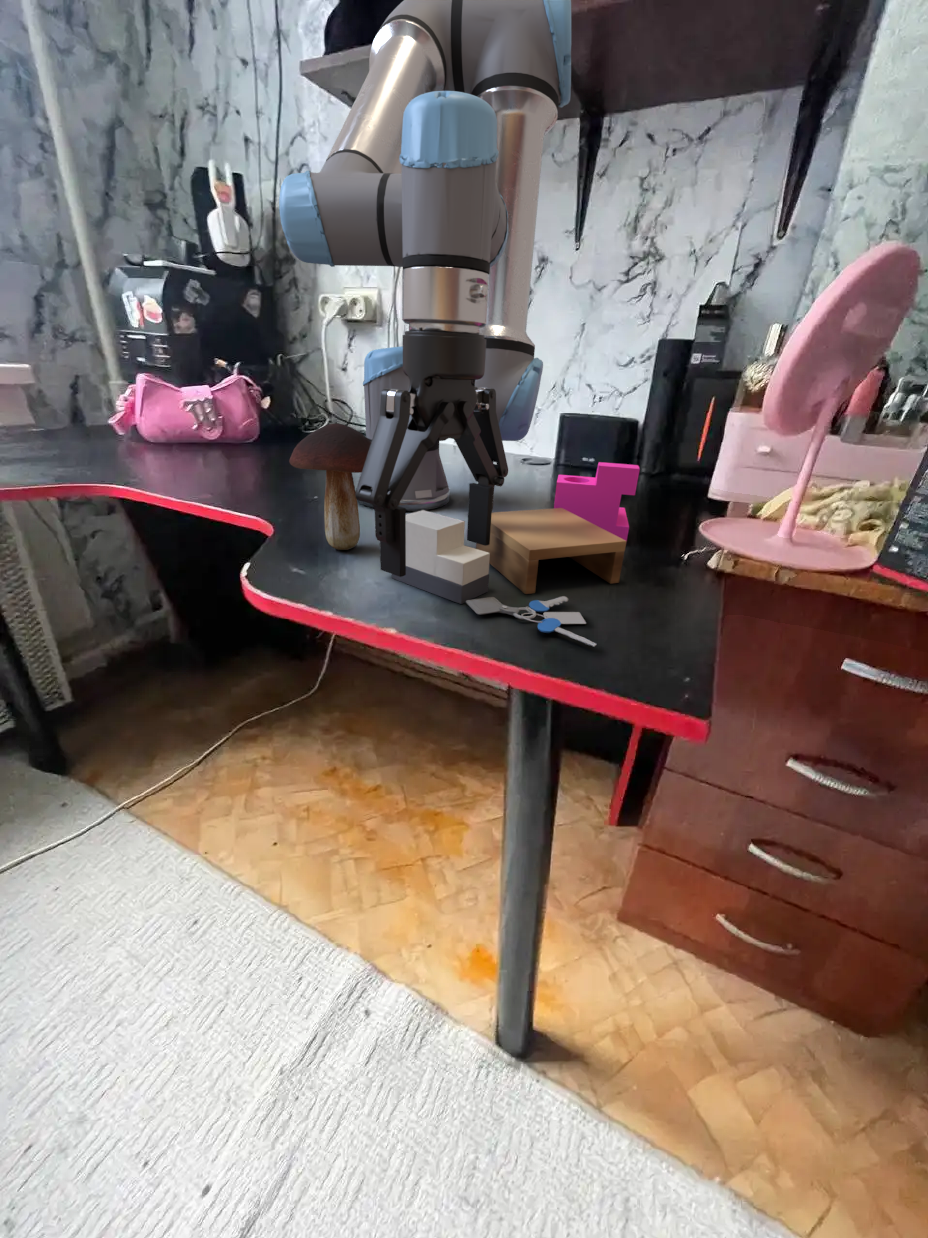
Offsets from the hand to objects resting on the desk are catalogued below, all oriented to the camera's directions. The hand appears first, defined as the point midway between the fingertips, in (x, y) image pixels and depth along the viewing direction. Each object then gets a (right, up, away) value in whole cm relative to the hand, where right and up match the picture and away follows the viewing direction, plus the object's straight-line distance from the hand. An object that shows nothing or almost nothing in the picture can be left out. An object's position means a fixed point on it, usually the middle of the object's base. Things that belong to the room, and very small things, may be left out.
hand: (439, 556), depth 58 cm
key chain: (+10, -6, -4) cm, 13 cm away
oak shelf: (+12, 0, +8) cm, 15 cm away
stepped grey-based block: (0, -3, +2) cm, 3 cm away
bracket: (+21, +7, +23) cm, 32 cm away
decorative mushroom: (-13, +2, +11) cm, 17 cm away
